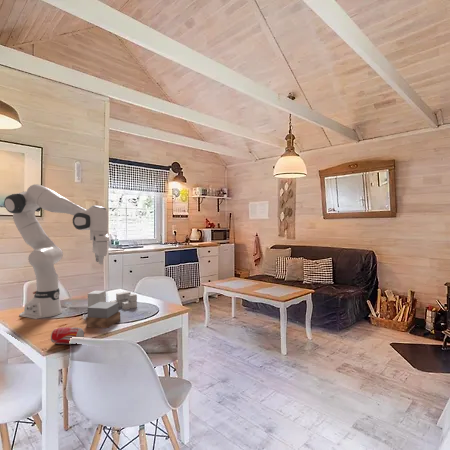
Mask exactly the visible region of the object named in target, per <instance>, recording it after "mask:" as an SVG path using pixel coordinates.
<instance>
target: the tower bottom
mask: <svg viewBox="0 0 450 450" xmlns="http://www.w3.org/2000/svg"><path fill="white" fill-rule="evenodd" d="M85 320H86V321H85V322H86V327H87V328H101V329H102V328H103V329H108V328H110V327H112V326H113V325H115V324H117V323H119V322H120V321H121V311H119V312H117V313H116V314H114V315H112V316H111V317H109V318H91V317H88V316H86V319H85Z"/></svg>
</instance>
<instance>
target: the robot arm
mask: <svg viewBox="0 0 450 450" xmlns="http://www.w3.org/2000/svg"><path fill="white" fill-rule="evenodd" d="M3 204H4V207H5V209H6V211H7V212H9V213H10V214H12V219H13V222H14V225H15V227H16V228H17V231H18V232H19V234H20V235H21V237H22V239H23V241H24V242H25V244H26V245H28V246H30V247H31V248H32V249H33V251H32V252H30V253H29V255H28V257H27V260H28V263H29V265H30V266H32V269H33V272H34V275H35V280H36V281H35V283H36V290H35V291H33V292H32V295H33V297H32V299H30V300H29V301H27V303H26V304H25V305H24V308H23V309H24V310H23V311H22V312H20V313H19V317H23V318H27V319H33V320H36V319H37V320H38V319H42V318H50V317H53V316H54V317H55V316H57V315H60V314H62V313H63V309H62V305H61V300H60V287H59V274H58V273H57V272H56V269H55V264H57V263H58V262H60V261H61V260H62V258H63V256H64V253H63V250H62V249H61V248H60V247H59V246H58V245H56V243H55V241H53V240H52V239H51V238H50V237H49V236H48V234H47V233H46V231H45V230H44V228H43V226H42V225H41V223H40V221H39V220H38V219H37V217H36V212H38V213H39V212H40V211H41V210H42V209H43V210H44V211H47V212H49V213H50V212H51V213H56V214H57V213H59V214H67V215H72V216H73V217H72V225H73V227H74V228H75V229H76V230H80V231H89V241H92V253H93V254H94V256H95V262H96V263H98V265H103V264H104V260H105V259H104V258H105V257H106V256H107V254H108V242H109V240H110V239H109V238H110V237H109V228H108V225H109V214H108V210H107V208H106V207H105V206H100V205H91V206H90V207H89V208H88V209H86V208H85V207H82V206H81V205H78V204H77V203H74V201H71V200H69V199H68V198H66V197H64V196H63V195H61V194H59V193H57V192H56V191H54V190H52V189H50V188H49V187H46V186H45V185H41V184H36V183H34V184H32V185H29V187H28V188H27V189H26V190H25V191H22V192H18V193H12V194H9V195H7V196H6V197H5V198H4V202H3Z"/></svg>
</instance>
